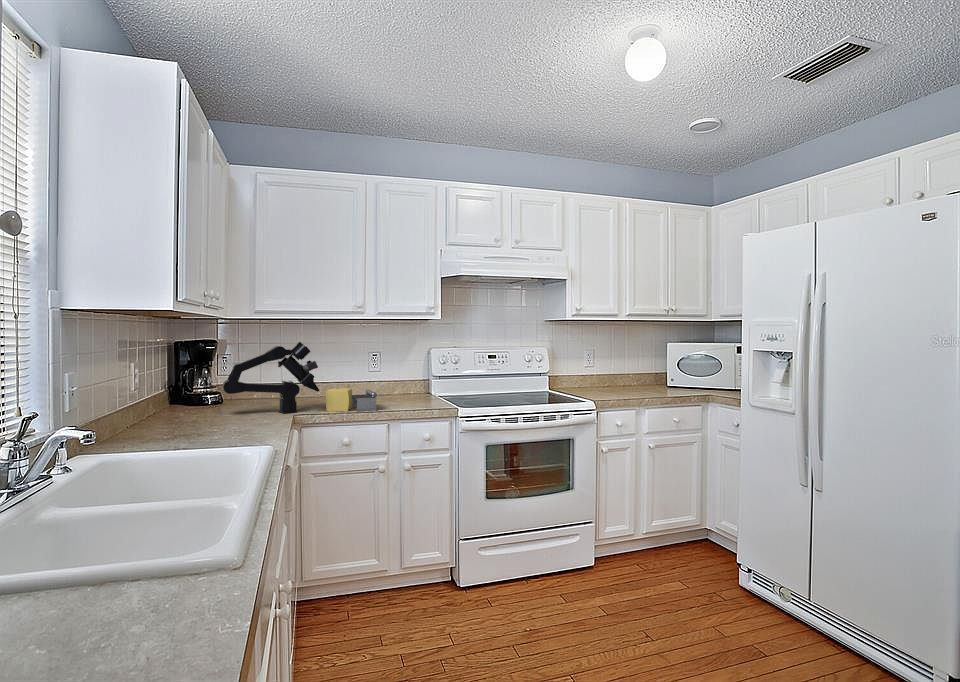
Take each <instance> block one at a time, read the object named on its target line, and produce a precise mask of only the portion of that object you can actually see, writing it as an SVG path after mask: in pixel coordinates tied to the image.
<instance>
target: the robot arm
mask: <svg viewBox="0 0 960 682" xmlns="http://www.w3.org/2000/svg"><path fill="white" fill-rule="evenodd" d="M310 353H311V350H310V349H309V347H308V346H306V345H304V344H303V343H302V342H301V341H298V342H297V343H296V345H295V346H294V347H292V348H291V349H290V348H288V349H286V348H285V347H284V346H281V345H275V346H273V347H272V348H270V349H269V350H267V351H265V352H264V353H262V354H260V355H257V356H254V357H252V358H249V359H247V360H245V361H241V362H239V363H235V364H234V365H233V366H232V369H231V372H230V373H229V375H228V377H227V379H226V380H225V381H223V383H222V386H221V387H222V389H223V391H224V392H225V394H228V395H231V394H232V395H233V394H240V393H245V392H248V393H270V394H271V393H273V394H277V393H278V394H279V396H280V399H279V410H277V413H281V414H291V413H298V411H297V407H298V406H297V403H298V402H297V400H296V396H297V395H299V393H300V391H301V390H300V386H299V385H298V384H297V383H295V382H294V381H292V380H288V381H286V380H282V381H281V383H256V382H255V383H254V382H253V383H252V382H251V383H250V382H242V381H239V380H240V378H241V375H242V373H243V372H246V371H248V370H250V369H253V368H255V367H257V366H260V365H263V364H264V363H267V362H268V363H269V362H273V361H277V367H278V368H281V367H282V366H283V367H284V368H285V369H286V370H287V371H288V372H289V373H290V374H291V375H293V377H295V378H296V380H297V381H298V382H299V383H300V384H301V385H302V386H303V387H306V388H307V389H308V388H309V389H311V390H313V391H315V392H319V391H320V389H319V387H318V386H317V384H316V382H315V380H314V378H315V377H316V376H314V374H312V373H311V371H313V370H315V369H318V368H319V365H318V364H317V361H315V360H313V361H311V360H310V359H309V360H307V361H306V364H304V365H303V364H301V363H299V360H301V361H303V360H304V359H305V358H306V357H307V356H308V354H310ZM286 356H287V357H286ZM279 360H281V361H279ZM297 360H298V361H297Z"/></svg>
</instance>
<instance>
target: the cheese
mask: <svg viewBox="0 0 960 682" xmlns="http://www.w3.org/2000/svg"><path fill="white" fill-rule="evenodd" d="M352 395H353V389H352V388H350V387H347V388H346V387H340V388H334V389H333V388H331V389H326V390H325V406H326V407H325V408H326V412H349V411H350V410H352V409H351V408H353V407H352ZM349 409H350V410H349ZM348 410H349V411H348Z"/></svg>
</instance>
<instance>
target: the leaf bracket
mask: <svg viewBox="0 0 960 682" xmlns="http://www.w3.org/2000/svg"><path fill="white" fill-rule="evenodd" d="M364 392H365V394H364V393H362V394H361V393H359V394H352V408H355V407H354V406H357V407H356V412H373V411H375V412H376V411H377V396H378V394H377V392H375V391H372V390H370V389H366V390H365V391H364Z"/></svg>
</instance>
